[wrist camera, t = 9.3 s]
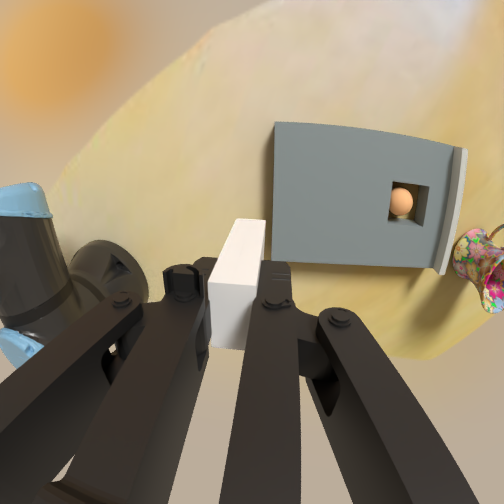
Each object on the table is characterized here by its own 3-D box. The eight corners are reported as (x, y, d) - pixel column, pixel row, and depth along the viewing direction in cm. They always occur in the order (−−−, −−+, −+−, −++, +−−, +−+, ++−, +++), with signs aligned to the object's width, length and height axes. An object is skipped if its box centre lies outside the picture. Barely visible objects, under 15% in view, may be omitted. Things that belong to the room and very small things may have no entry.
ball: (378, 211, 34) (398, 220, 31) (382, 184, 33) (402, 190, 29) (396, 210, 35) (415, 218, 32) (400, 184, 34) (419, 191, 31)
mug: (480, 278, 37) (511, 312, 27) (441, 276, 38) (472, 314, 28) (499, 212, 32) (539, 236, 22) (460, 203, 33) (502, 227, 23)
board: (272, 251, 39) (270, 267, 34) (275, 122, 32) (274, 120, 28) (430, 259, 37) (444, 275, 32) (448, 145, 30) (468, 149, 25)
